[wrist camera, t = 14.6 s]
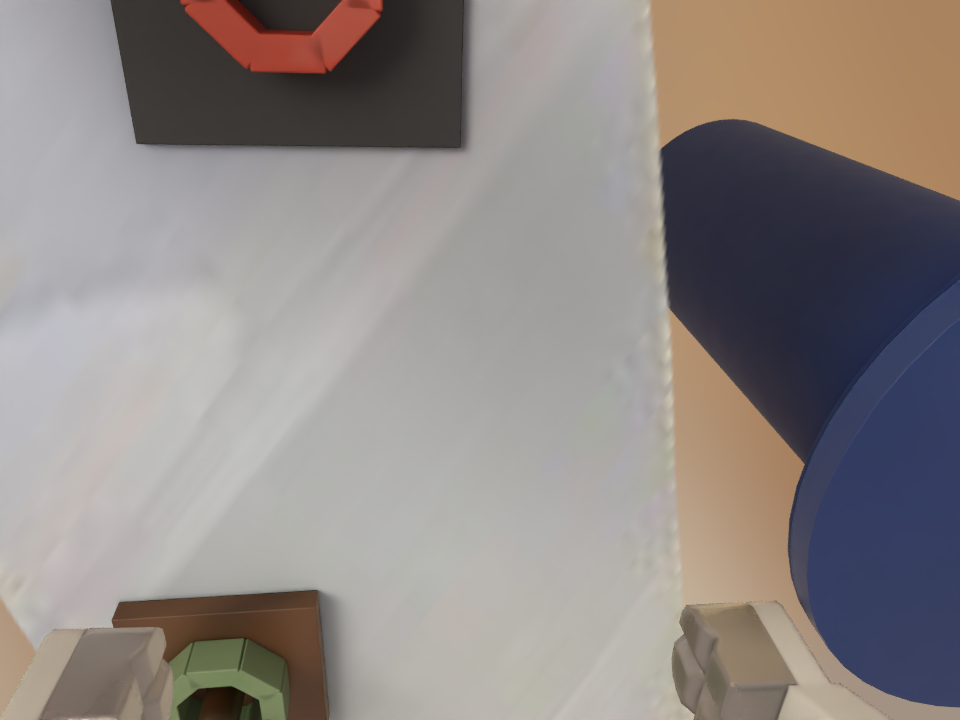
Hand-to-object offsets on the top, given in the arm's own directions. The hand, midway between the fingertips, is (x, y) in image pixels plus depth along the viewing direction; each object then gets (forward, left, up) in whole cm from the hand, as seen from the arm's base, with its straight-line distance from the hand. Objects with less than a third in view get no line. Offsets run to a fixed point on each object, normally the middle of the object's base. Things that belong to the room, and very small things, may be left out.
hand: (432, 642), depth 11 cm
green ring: (+10, +24, -20) cm, 33 cm away
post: (+10, +24, -21) cm, 34 cm away
